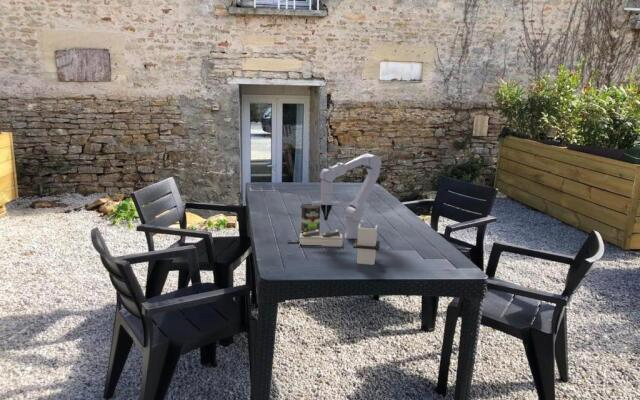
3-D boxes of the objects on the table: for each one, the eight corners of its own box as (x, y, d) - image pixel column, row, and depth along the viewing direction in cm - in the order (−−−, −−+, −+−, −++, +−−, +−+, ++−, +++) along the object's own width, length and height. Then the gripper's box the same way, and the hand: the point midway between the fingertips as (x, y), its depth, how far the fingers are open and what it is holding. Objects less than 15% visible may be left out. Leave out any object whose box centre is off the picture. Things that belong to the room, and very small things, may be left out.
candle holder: (395, 255, 217) (397, 221, 213) (393, 274, 193) (396, 236, 190) (341, 251, 221) (342, 217, 217) (334, 269, 197) (335, 232, 194)
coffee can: (322, 233, 247) (322, 207, 244) (303, 234, 244) (303, 208, 241) (317, 228, 257) (317, 203, 254) (298, 229, 254) (299, 204, 251)
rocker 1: (319, 232, 232) (318, 228, 232) (319, 234, 228) (318, 231, 228) (303, 235, 232) (303, 232, 232) (303, 238, 228) (302, 234, 228)
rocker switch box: (341, 240, 235) (341, 233, 235) (342, 246, 227) (342, 238, 226) (288, 239, 235) (288, 232, 234) (287, 245, 227) (287, 237, 226)
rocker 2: (339, 232, 232) (338, 228, 232) (339, 234, 228) (338, 231, 228) (323, 236, 232) (322, 233, 232) (323, 238, 228) (322, 235, 228)
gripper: (340, 192, 236) (339, 218, 239) (312, 191, 235) (311, 217, 238) (341, 194, 229) (340, 221, 232) (311, 194, 229) (311, 221, 232)
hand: (325, 219), depth 235 cm, fingers closed
